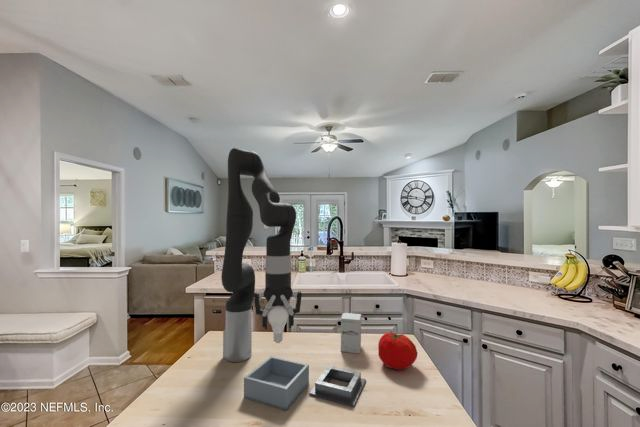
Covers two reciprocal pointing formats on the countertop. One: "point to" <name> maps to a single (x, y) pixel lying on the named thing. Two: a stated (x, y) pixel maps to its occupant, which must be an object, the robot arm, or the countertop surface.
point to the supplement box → (351, 333)
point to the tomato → (396, 351)
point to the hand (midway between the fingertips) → (278, 327)
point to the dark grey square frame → (339, 392)
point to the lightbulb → (278, 321)
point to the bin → (276, 382)
